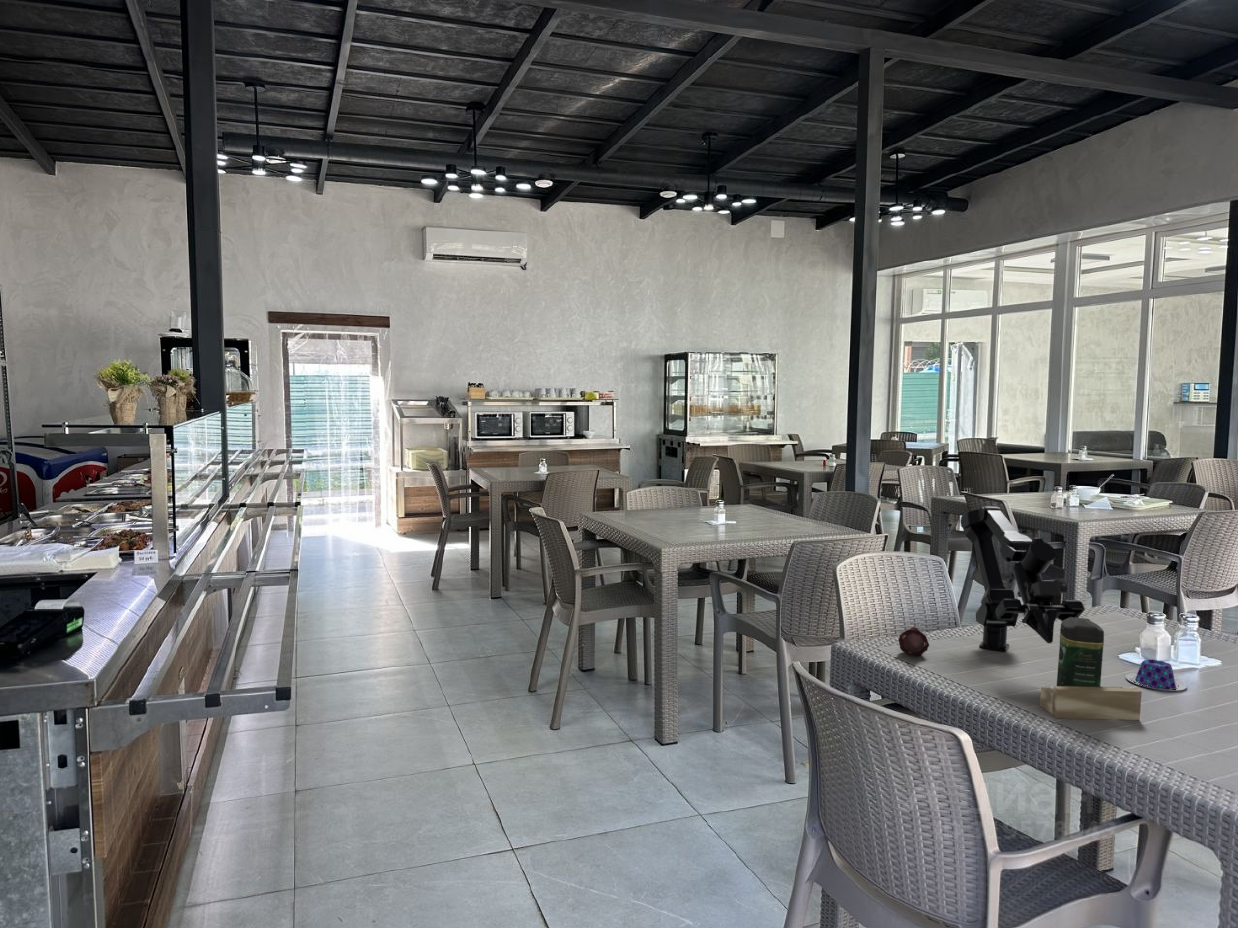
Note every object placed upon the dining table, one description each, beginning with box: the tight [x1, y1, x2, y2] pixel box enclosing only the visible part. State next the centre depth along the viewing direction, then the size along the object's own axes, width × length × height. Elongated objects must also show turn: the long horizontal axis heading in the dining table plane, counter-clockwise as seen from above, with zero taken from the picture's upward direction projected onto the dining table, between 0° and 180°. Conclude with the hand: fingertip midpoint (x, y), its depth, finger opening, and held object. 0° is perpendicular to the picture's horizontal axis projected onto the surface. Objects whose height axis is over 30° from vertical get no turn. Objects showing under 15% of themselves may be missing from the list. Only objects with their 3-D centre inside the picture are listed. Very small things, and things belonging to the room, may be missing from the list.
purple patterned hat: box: [1125, 658, 1187, 692], centre depth 194 cm, size 12×12×5 cm
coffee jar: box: [1055, 617, 1105, 687], centre depth 179 cm, size 10×8×19 cm
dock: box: [1039, 685, 1142, 721], centre depth 175 cm, size 7×17×6 cm, turn 89°
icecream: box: [898, 626, 930, 657], centre depth 212 cm, size 7×7×15 cm
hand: (1050, 642), depth 191 cm, fingers closed
